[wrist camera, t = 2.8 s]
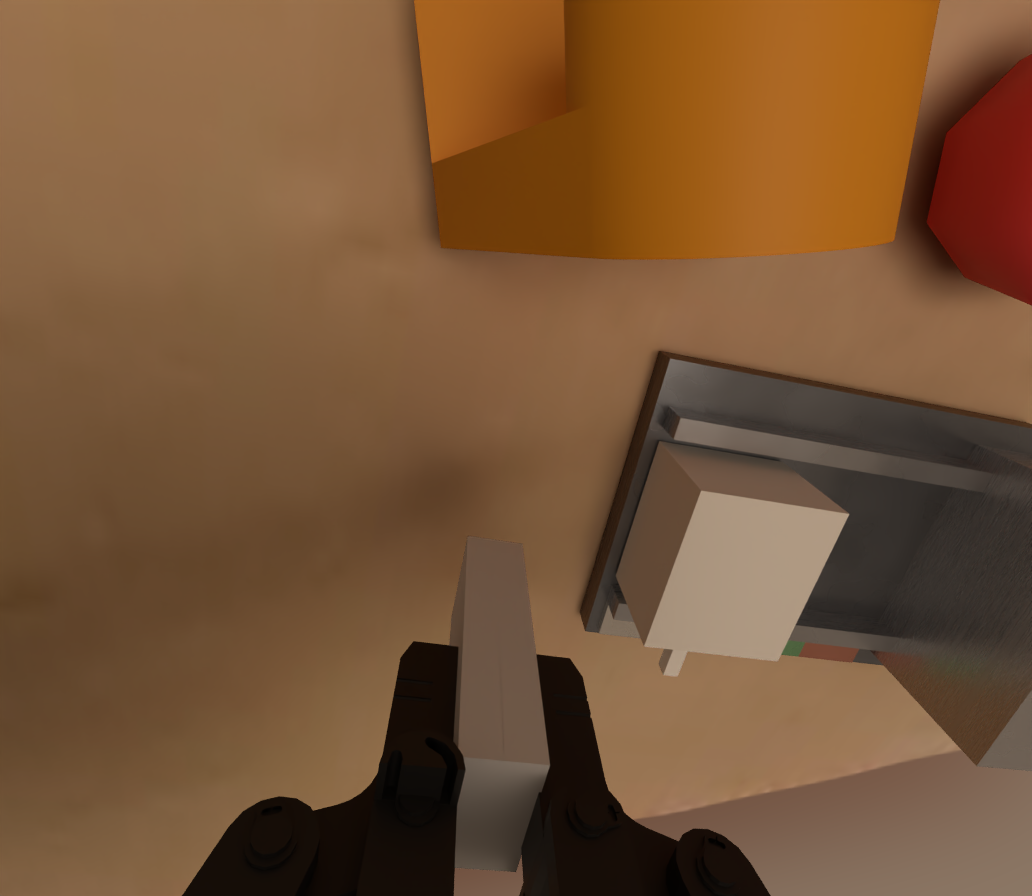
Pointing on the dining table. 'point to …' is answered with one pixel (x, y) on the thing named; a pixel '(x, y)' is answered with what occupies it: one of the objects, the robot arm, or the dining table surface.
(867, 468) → the gauge base
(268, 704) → the dining table surface
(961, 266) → the apple
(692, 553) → the cream block with peg
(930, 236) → the dining table surface
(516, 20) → the bracket
